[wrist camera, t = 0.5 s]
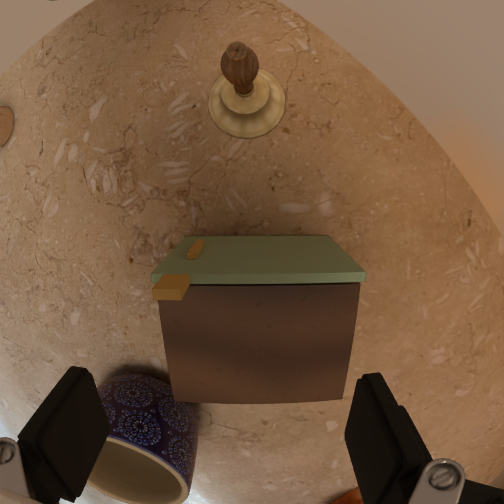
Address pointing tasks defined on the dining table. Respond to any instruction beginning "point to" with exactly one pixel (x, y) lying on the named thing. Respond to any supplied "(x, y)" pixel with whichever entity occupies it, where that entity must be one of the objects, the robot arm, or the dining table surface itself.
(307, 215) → the dining table surface
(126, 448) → the planter
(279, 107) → the hand bell
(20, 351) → the dining table surface
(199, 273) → the sliding door
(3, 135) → the beer glass
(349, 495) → the ceramic vessel
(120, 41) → the dining table surface
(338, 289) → the cupboard
